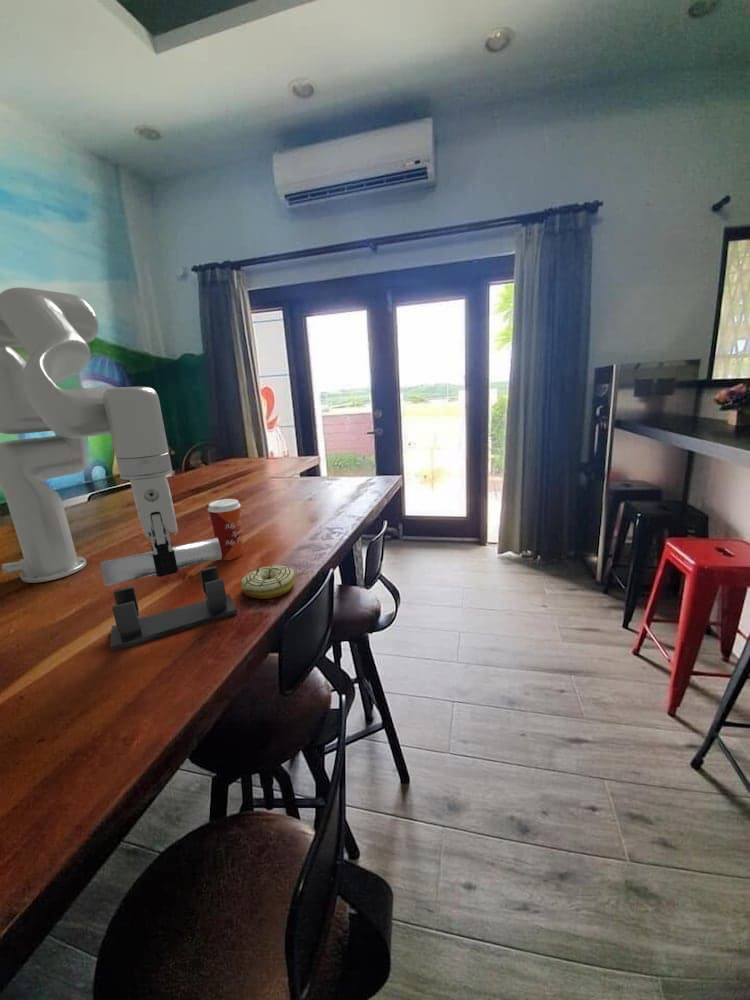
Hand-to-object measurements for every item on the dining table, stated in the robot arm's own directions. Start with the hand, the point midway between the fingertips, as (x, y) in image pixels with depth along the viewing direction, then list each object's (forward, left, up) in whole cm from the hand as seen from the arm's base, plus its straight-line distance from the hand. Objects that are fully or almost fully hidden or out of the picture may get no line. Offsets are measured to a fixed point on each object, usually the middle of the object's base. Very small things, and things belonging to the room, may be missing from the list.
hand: (166, 568), depth 71 cm
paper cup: (+15, +26, -11) cm, 32 cm away
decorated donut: (+18, +3, -11) cm, 21 cm away
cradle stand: (0, 0, -11) cm, 11 cm away
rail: (0, 0, +2) cm, 2 cm away
